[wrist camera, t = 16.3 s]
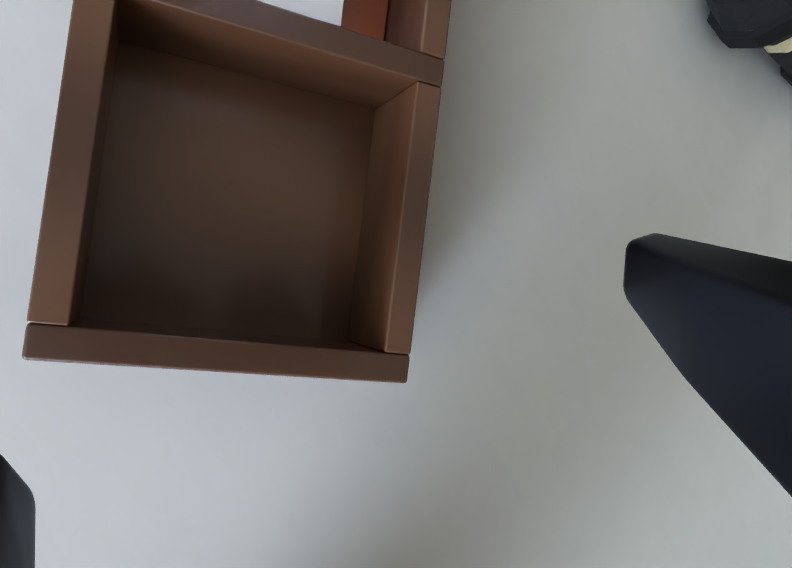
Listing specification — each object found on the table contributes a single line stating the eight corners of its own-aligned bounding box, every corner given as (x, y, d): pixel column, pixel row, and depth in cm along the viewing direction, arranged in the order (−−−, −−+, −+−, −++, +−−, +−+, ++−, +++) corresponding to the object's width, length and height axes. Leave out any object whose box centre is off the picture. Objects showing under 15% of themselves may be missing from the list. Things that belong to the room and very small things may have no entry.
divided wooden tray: (360, 365, 22) (407, 384, 18) (44, 342, 18) (20, 360, 14) (421, -142, 23) (478, -224, 19) (132, -279, 19) (133, -419, 15)
